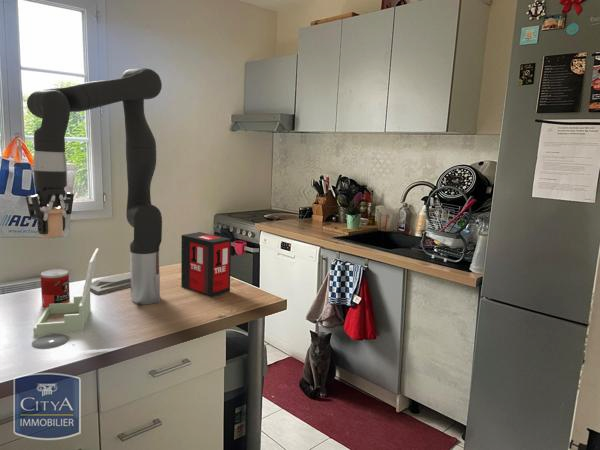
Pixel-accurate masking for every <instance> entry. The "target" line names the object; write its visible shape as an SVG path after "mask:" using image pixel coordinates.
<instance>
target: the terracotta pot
mask: <svg viewBox="0 0 600 450" xmlns="http://www.w3.org/2000/svg"><path fill="white" fill-rule="evenodd" d="M43 208H45V207H43ZM41 213H42V215H43V213H44V211H41ZM62 213H64V208H55V207H53V208H52V209H51V210H50V211H49V212H47V214H48V218H47V221H48V234H45V235H43V234H40V237H41V238H44V239H55V238H62V237H63V236H64V234H63V233H64V231H63V219H62Z"/></svg>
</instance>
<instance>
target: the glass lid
mask: <svg viewBox="0 0 600 450" xmlns="http://www.w3.org/2000/svg"><path fill="white" fill-rule="evenodd" d="M98 253H99V248H95V250H94V252H93V254H92V256H91V258H90V259H89V262H88V268H87V272H86V277H85V282H84V285H85V286H84V285H83V290H82V291H83V292H82V295H81V296H82V300H81V304H83V303H84V301H85V299H86V296H87V294H88V291H89V289H90V287H91V283H93V276H94V272H95V267H96V263H97V257H98Z"/></svg>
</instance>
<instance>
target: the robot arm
mask: <svg viewBox="0 0 600 450" xmlns="http://www.w3.org/2000/svg"><path fill="white" fill-rule="evenodd" d="M162 87H163V85H162V80H161V77H160V76H159V74H158V73H157V72H156V71H155V70H154V69H151V68H145V67H141V68H129V69H126V70H124V72H123V73H122V74H121V78H115V79H105V80H95V81H89V82H88V81H87V82H81V83H77V84H73V85H69V86H65V87H56V88H48V89H40V90H35V91H34V92H32V93H30V95H29V96H28V97H27V99H26V106H27V109H28V112H30V113H31V114H32V115H33V116H34V117H37V118H40V119H41V125H40V127H38V128H36V129H35V130H34V133H33V149H34V151H33V181H34V182H33V183H34V184H33V185H34V187H36V191H35V194H34V195H27V196H25V200H26V204H27V208H28V214H29V217H30V218H31V219H34V220H36V221H37V232H38V233H39V235H41V234H43V235H45V234H48V221H47V218H48V214H47V212H49V211H50V210H51V209H52V208H53V207H55V208H64V213H62V219H63V232H64V231H65V230H66V217H67V216H68V215H71V214H72V212H73V204H74V197H75V194H74V193H73V192H67V191H66V190H65V188H66V187H67V186H68V177H67V176H68V175H67V172H68V170H67V157H66V141H65V140H66V139H65V135H66V133H67V129H68V126H69V120H70V116H71V113H78V112H79V113H80V112H86V111H89V110H93V109H97V108H101V107H104V106H108V105H112V104H115V103H119V102H122V106H123V113H124V128H125V129H124V131H125V158H126V178H127V200H126V201H127V202H126V220H127V222H128V224H129V226H131V227H132V228H133V239H132V241H131V242H130V244H129V258H130V259H129V260H130V261H129V262H130V265H129V266H130V268H129V269H130V273H129V274H131V287H130V301H131V302H132V303H136V305H150V304H154V303H160V302H161V300H160V299H161V297H160V296H161V289H160V288H161V285H160V284H161V283H160V281H161V280H160V278H161V275H160V245H161V244H162V236H163V235H162V234H163V217H162V213H161V210H160V209H159V208H158V207H157V206H156V205H154V204H152V200H151V199H152V198H151V184H152V181H153V177H154V173H155V171H156V166H157V143H156V139H155V136H154V133H153V131H152V130H151V128H150V126H149V124H148V121H147V119H146V115H145V100H152V99H154V98H156V97H157V96H158V95H159V94H160V93H161V91H162ZM43 207H45V208H43ZM41 211H44V213H43V215H42V213H41Z"/></svg>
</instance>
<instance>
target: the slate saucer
mask: <svg viewBox="0 0 600 450" xmlns="http://www.w3.org/2000/svg"><path fill="white" fill-rule="evenodd" d="M69 340H70V337H69V336H68V335H67V334H65V333H55V334H44V335H42V336H39V337H37V338H35V339H34V340H33V341H32V342H31V346H32V347H34V348H35V349H41V350H44V349H46V350H47V349H53V348H57V347H58V348H59V347H60V346H63V345H65V344H66V343H68V342H69Z"/></svg>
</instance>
